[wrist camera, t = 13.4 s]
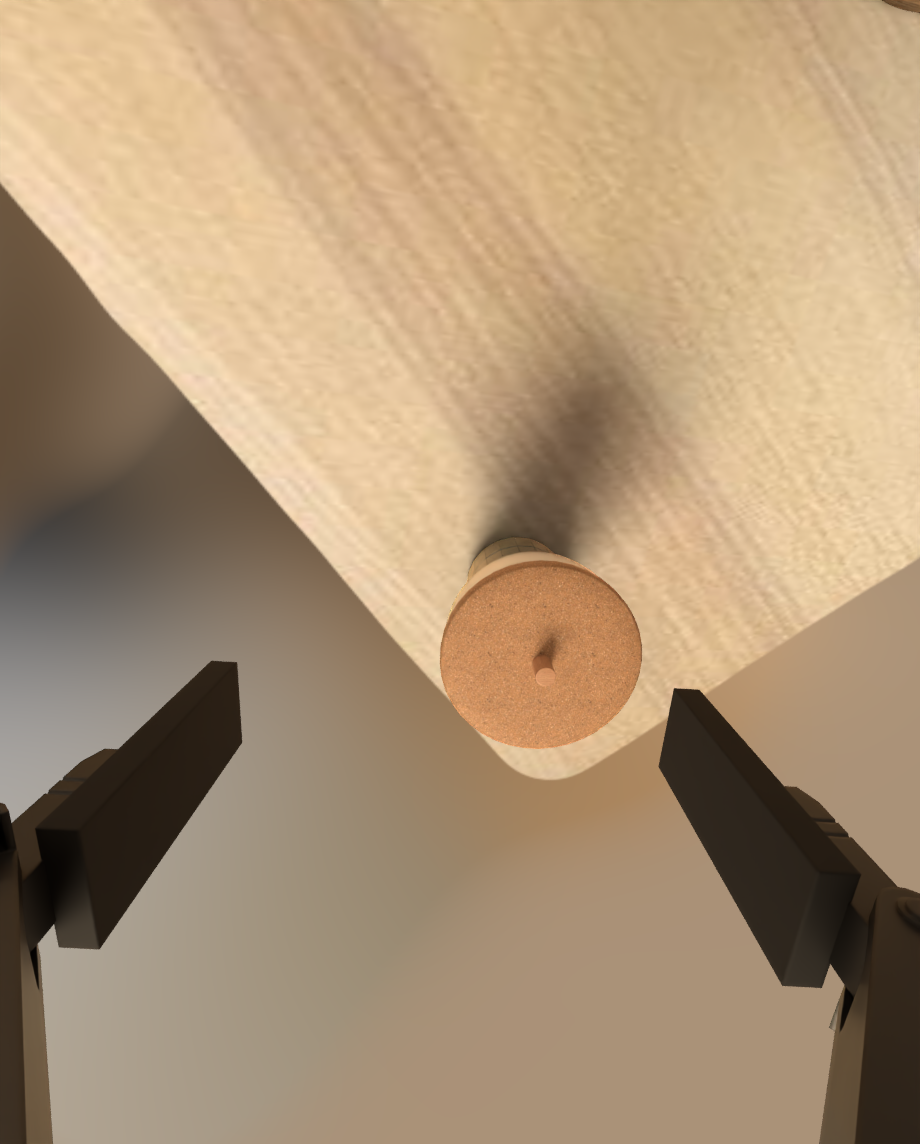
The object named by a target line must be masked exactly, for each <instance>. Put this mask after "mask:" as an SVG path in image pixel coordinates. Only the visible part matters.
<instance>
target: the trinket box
mask: <svg viewBox="0 0 920 1144" xmlns="http://www.w3.org/2000/svg"><path fill="white" fill-rule="evenodd" d="M641 661H642V644H641V638H640V633H639V629H638V626H637V623H636V621H635V618H634V616H633V614H632V612H631V611H630V609H629V607H628V606H627V604H626V603H625V601H624V600H623V599H622V598H621V597H620V596H619V594H618V593H617V592H616V591H615V590H614V589H613V588H612V587H611V586H610V585H608V584H607V583H606V582H605V581H604V580H602V579H601V578H600V577H598V576H597V575H596V574H594V573H593V572H592V571H591V570H589V569H588V568H586V567H584V566H583V565H581V564H579V563H577V562H576V561H574V560H571V559H569V558H566V557H563V556H561V555H556V554H552V553H547V552H532V551H531V552H520V553H515V554H511V555H507V556H504V557H502V558H499V559H497V560H495V561H493V562H491V563H489V564H488V565H486V566H485V567H483V568H482V569H481V570H479V571H478V572H477V573H476V574H475V575H473V576H472V577H471V578H470V579H469V581H468V582H467V583H466V584H465V585H464V586H463V588H462V589H461V591H460V592H459V594H458V596H457V597H456V599H455V601H454V603H453V605H452V608H451V610H450V613H449V615H448V619H447V623H446V627H445V629H444V633H443V638H442V642H441V652H440V667H441V676H442V680H443V683H444V687H445V690H446V692H447V694H448V696H449V698H450V700H451V702H452V704H453V705H454V707H455V708H456V710H457V711H458V712H459V714H460V715H461V716H462V717H463V718H464V719H465V720H466V721H467V722H468V723H469V724H470V725H471V726H473V727H474V728H475V729H477V730H478V731H479V732H481V733H482V734H484V735H486V736H488V737H490V738H492V739H494V740H496V741H499V742H502V743H505V744H508V745H512V746H517V747H522V748H536V749H541V748H551V747H557V746H562V745H567V744H570V743H573V742H576V741H578V740H581V739H583V738H585V737H587V736H589V735H591V734H593V733H595V732H596V731H598V730H599V729H600V728H602V727H603V726H604V725H606V724H607V723H608V722H609V721H610V720H611V719H612V718H613V717H614V716H615V715H617V714H618V713H619V711H620V710H621V709H622V707H623V706H624V705H625V703H626V702H627V701H628V699H629V697H630V695H631V693H632V691H633V690H634V688H635V685H636V682H637V679H638V676H639V673H640V667H641Z"/></svg>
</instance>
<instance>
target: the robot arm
mask: <svg viewBox="0 0 920 1144" xmlns="http://www.w3.org/2000/svg"><path fill="white" fill-rule="evenodd" d="M882 1H884V2H885V3H888V4H890V5H892V6H894V7H897V8H900V9H903V10H906V11H911V12H917V13H920V0H882ZM241 743H242V732H241V716H240V700H239V685H238V670H237V662H222V661H211V662H210V663H209V664H208V665H206V667H204V668H203V669H202V670H201V671H200V672H199V673H198V674H197V675H196V676H195V677H194V678H193V679H192V680H191V681H190V682H189V683H188V684H186V685H185V686H184V687H183V688H182V689H181V690H180V691H179V692H178V693H177V694H176V695H175V696H174V697H173V698H172V699H171V700H170V701H169V702H167V703H166V704H165V705H164V706H163V707H162V708H161V709H160V710H159V711H158V712H157V713H156V714H155V715H154V716H153V717H152V718H151V719H150V720H149V721H148V722H146V723H145V724H144V725H143V726H142V727H141V728H140V729H139V730H138V731H137V732H136V733H135V734H134V735H133V736H132V737H131V738H130V739H129V740H128V741H126V742H125V743H124V744H123V745H122V746H121V747H120V748H119V749H103V750H102V751H100V752H98V753H96V754H94V755H92V756H90V757H89V758H87V759H85V760H83V761H81V762H80V763H79V764H78V765H77V766H75V767H74V768H73V769H72V770H71V771H70V772H69V773H68V774H66V776H64V777H63V780H62V781H61V780H60V781H59V782H58V783H56V784H55V785H54V786H53V787H52V788H51V789H50V790H49V792H48V794H44V795H43V796H42V797H41V798H40V799H38V800H37V801H36V802H35V803H34V804H33V805H32V806H30V807H29V808H28V809H27V810H26V811H25V812H24V813H23V814H21V815H20V816H19V817H18V818H17V819H16V820H15V821H14V822H13V823H11V819H10V814H9V811H8V809H7V807H6V805H5V804H3V803H0V1144H53V1139H52V1123H51V1111H50V1110H51V1109H50V1094H49V1078H48V1064H47V1051H46V1050H47V1049H46V1034H45V1019H44V1005H43V989H42V975H41V960H40V954H39V949H38V943H39V942H40V940H41V939H42V938H43V936H44V935H45V934H46V933H47V932H48V931H49V929H50V928H51V927H52V926H53V924H54V925H55V930H56V935H57V940H58V945H59V947H63V948H84V949H100V948H101V946H102V945H103V943H104V942H105V941H106V939H107V938H108V936H109V935H110V933H111V932H112V930H113V929H114V927H115V926H116V925H117V923H118V921H119V920H120V919H121V917H122V916H123V914H124V913H125V912H126V910H127V908H128V907H129V906H130V904H131V903H132V901H133V900H134V899H135V897H136V896H137V894H138V893H139V891H140V890H141V888H142V887H143V885H144V884H145V883H146V881H147V880H148V878H149V877H150V875H151V874H152V872H153V871H154V869H155V868H156V867H157V865H158V864H159V862H160V861H161V859H162V858H163V856H164V855H165V854H166V852H167V851H168V849H169V848H170V846H171V845H172V843H173V842H174V840H175V839H176V838H177V836H178V835H179V833H180V832H181V830H182V829H183V827H184V826H185V825H186V823H187V822H188V820H189V819H190V817H191V816H192V814H193V813H194V812H195V810H196V809H197V807H198V806H199V804H200V803H201V801H202V800H203V799H204V797H205V795H206V794H207V793H208V791H209V790H210V788H211V787H212V785H213V784H214V783H215V781H216V780H217V778H218V777H219V775H220V774H221V772H222V771H223V770H224V768H225V766H226V765H227V764H228V762H229V761H230V759H231V758H232V756H233V755H234V754H235V752H236V751H237V749H238V748H239V746H240V745H241ZM659 768H660V770H661V772H662V773H663V775H664V777H665V778H666V780H667V782H668V784H669V786H670V787H671V789H672V791H673V793H674V795H675V796H676V798H677V800H678V802H679V803H680V805H681V807H682V809H683V810H684V812H685V814H686V816H687V818H688V819H689V821H690V823H691V825H692V826H693V828H694V830H695V832H696V834H697V835H698V837H699V839H700V841H701V842H702V844H703V846H704V848H705V850H706V851H707V853H708V855H709V856H710V858H711V860H712V862H713V864H714V865H715V867H716V869H717V871H718V873H719V874H720V876H721V878H722V880H723V881H724V883H725V885H726V887H727V888H728V890H729V892H730V894H731V895H732V897H733V899H734V901H735V903H736V904H737V906H738V908H739V910H740V911H741V913H742V915H743V917H744V919H745V920H746V922H747V924H748V926H749V927H750V929H751V931H752V933H753V934H754V936H755V938H756V940H757V941H758V943H759V945H760V947H761V948H762V950H763V952H764V954H765V956H766V957H767V959H768V961H769V963H770V965H771V966H772V968H773V970H774V972H775V973H776V975H777V977H778V979H779V980H780V982H781V984H782V986H796V987H815V988H822V986H823V983H824V980H825V977H826V974H827V971H828V968H829V966H830V964H831V965H832V967H833V968H834V970H835V971H836V973H837V974H838V976H839V977H840V978H841V980H842V982H843V983H844V988H843V991H842V993H841V996H840V999H839V1001H838V1004H837V1007H836V1010H835V1012H834V1015H833V1018H832V1021H831V1023H830V1026H829V1028H830V1029H832V1030H834V1031H835V1035H834V1042H833V1049H832V1056H831V1064H830V1071H829V1079H828V1085H827V1093H826V1099H825V1106H824V1113H823V1121H822V1128H821V1135H820V1142H819V1144H920V894H919V893H917V892H914V891H911V890H909V889H906V888H900V887H897V886H896V884H895V883H894V882H893V881H892V880H891V879H890V878H889V877H888V876H887V875H886V874H885V873H884V872H883V870H882V869H881V868H879V866H878V865H877V864H876V863H875V862H874V861H873V860H872V859H871V858H870V857H869V856H868V855H867V853H866V852H865V851H864V850H863V849H862V848H861V847H860V846H859V845H858V844H857V843H856V842H855V840H854V839H853V838H851V837H849V836H848V833H847V832H846V831H845V830H844V829H843V828H842V827H841V826H840V824H839V823H836V822H835V819H834V818H833V817H832V816H831V815H830V814H829V813H828V812H827V810H826V809H825V808H823V806H822V805H821V804H820V803H819V802H818V801H816V800H815V799H813V798H812V797H810V796H809V795H808V794H806V793H805V792H803V791H802V790H800V789H799V788H797V787H788V786H783V785H782V784H781V782H780V781H779V780H778V779H777V778H776V777H775V776H774V774H773V773H772V772H771V771H770V770H769V769H768V768H767V766H766V765H765V764H764V763H763V762H762V761H761V760H760V758H759V757H758V756H757V755H756V754H755V753H754V752H753V750H752V749H751V748H750V747H749V746H748V745H747V744H746V742H745V741H744V740H743V739H742V738H741V737H740V736H739V735H738V733H737V732H736V731H735V730H734V729H733V728H732V727H731V725H730V724H729V723H728V722H727V721H726V720H725V719H724V717H723V716H722V715H721V714H720V713H719V712H718V711H717V709H716V708H715V707H714V706H713V705H712V704H711V703H710V701H709V700H708V699H707V698H706V697H705V696H704V695H703V694H702V692H701V691H700V690H694V689H677V688H674V691H673V696H672V701H671V706H670V711H669V716H668V721H667V727H666V732H665V737H664V742H663V747H662V752H661V757H660V762H659Z"/></svg>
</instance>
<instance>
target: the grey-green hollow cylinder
mask: <svg viewBox="0 0 920 1144" xmlns="http://www.w3.org/2000/svg"><path fill="white" fill-rule="evenodd" d="M531 551H532V552H547V553H552V554H554V553H553V552H552V551H551V550H550V549H549V548H547V547H546V546H545V545H543V544H542V543H540V542H537V541H535V540H532V539H529V538H520V537H514V538H513V537H511V538H507V539H502V540H499V541H496V542H494V543H493V544H491V545H489V546H488V547H486V548H485V549H483V550H482V552H481V553H480V554H479V555H478V556H477V557H476V558H475V559H474V561H473V563H472V566H471V568H470V570H469V572H468V578H467V582H468V581H469V579H470V578H471V577H472V576H473V575H475V574H476V573H477V572H478V571H479V570H481V569H482V568H483V567H485V566H486V565H488V564H489V563H491V562H493V561H495V560H497V559H499V558H502V557H504V556H507V555H511V554H515V553H520V552H531Z"/></svg>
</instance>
